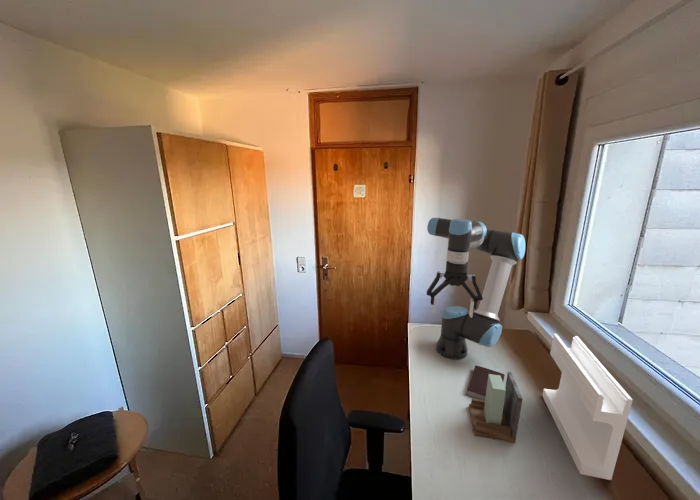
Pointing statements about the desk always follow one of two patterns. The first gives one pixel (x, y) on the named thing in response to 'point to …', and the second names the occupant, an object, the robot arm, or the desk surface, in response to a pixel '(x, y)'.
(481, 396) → the book
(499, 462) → the desk surface
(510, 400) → the slot board
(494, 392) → the grey-green tall block
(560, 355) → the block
